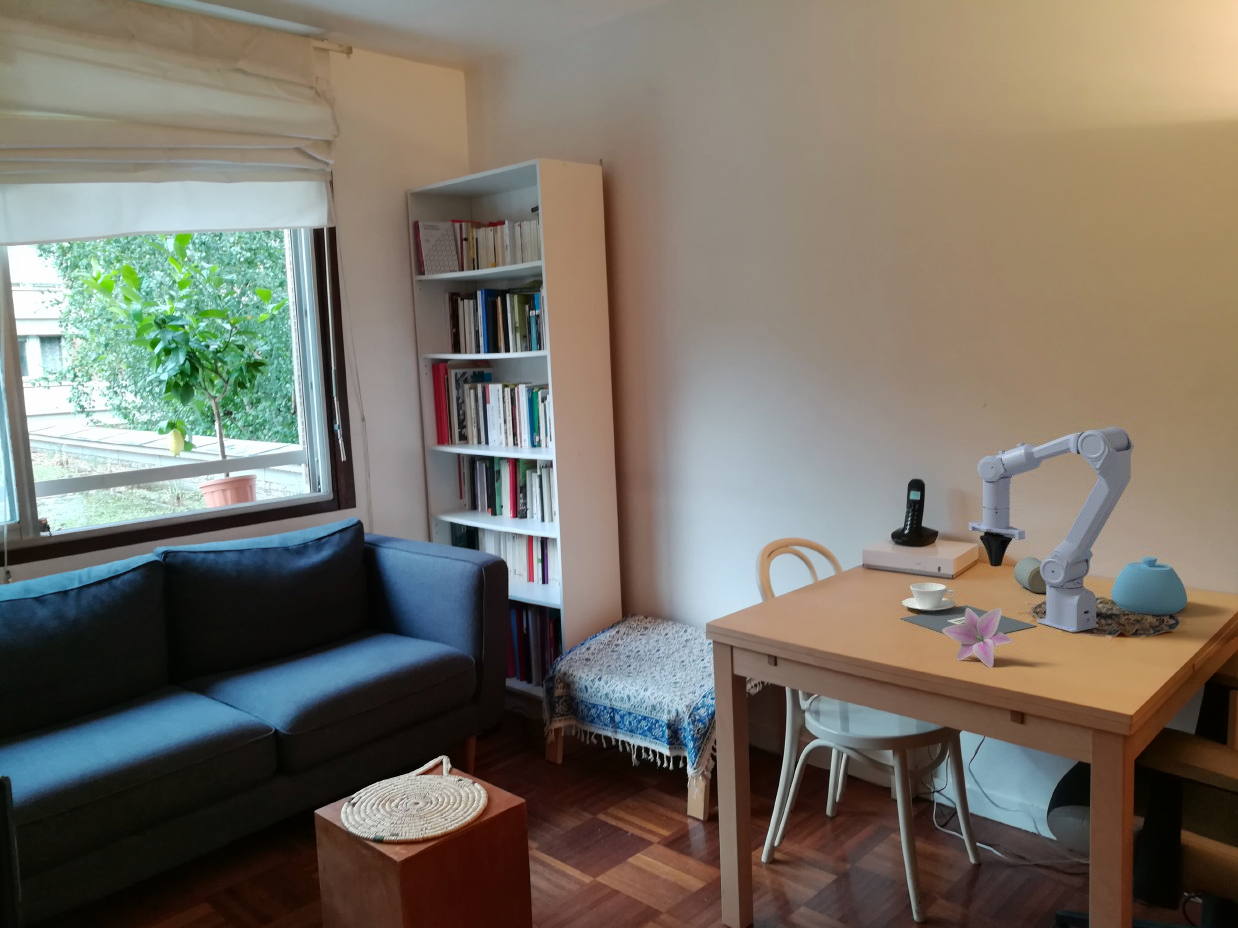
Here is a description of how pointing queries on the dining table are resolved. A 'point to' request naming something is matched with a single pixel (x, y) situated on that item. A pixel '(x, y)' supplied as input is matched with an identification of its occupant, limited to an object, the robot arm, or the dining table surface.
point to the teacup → (929, 597)
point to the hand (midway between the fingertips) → (995, 565)
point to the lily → (978, 635)
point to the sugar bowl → (1149, 588)
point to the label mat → (962, 620)
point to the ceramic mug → (1030, 575)
